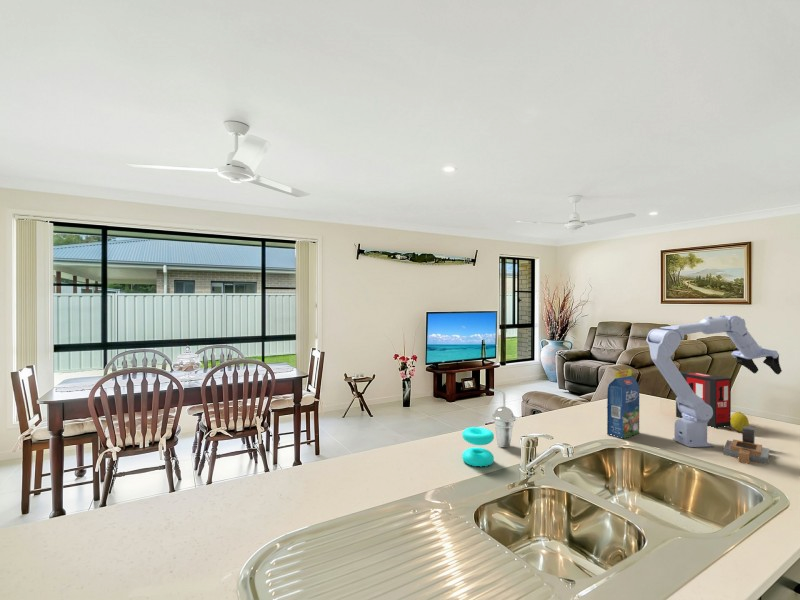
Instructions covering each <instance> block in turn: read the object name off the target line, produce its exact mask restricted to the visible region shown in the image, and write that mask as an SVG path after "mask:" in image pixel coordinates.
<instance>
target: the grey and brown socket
mask: <svg viewBox="0 0 800 600" xmlns="http://www.w3.org/2000/svg"><path fill="white" fill-rule="evenodd" d="M725 442H726V443H725V445H724V446H723V455H725V456H729V455H730V456H729V457H734V458H738V457H739V458H738V463H742V464H746V463H747V465H749V464H750V462H751V461H752V462H756V463H762V464H766V465H769V459H770V448H767V447H763V444H759V443H755V444H754V443H749V442H744V441H742V440H738V439H733V440H729V439H728V440H726V441H725Z"/></svg>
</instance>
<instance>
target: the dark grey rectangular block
mask: <svg viewBox="0 0 800 600" xmlns="http://www.w3.org/2000/svg"><path fill="white" fill-rule="evenodd" d="M755 431H756V427H753V426H743V431H742V440H741V441H744V442H749V443H754V444H756V441H755V437H756V435H755Z"/></svg>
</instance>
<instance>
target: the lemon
mask: <svg viewBox="0 0 800 600" xmlns="http://www.w3.org/2000/svg"><path fill="white" fill-rule="evenodd" d="M730 423H731V426H730V427H732V428H733V429H734V430H735V431H737V432H738V431H739V432H738V433H741V432H743V426H748V427H750V426H749V424H750V423H749V419H748V417H747V415H745V414H744V413H742V412H741V411H738V412H735V413H733V414H732V415H731V419H730Z"/></svg>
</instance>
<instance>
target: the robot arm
mask: <svg viewBox="0 0 800 600" xmlns="http://www.w3.org/2000/svg"><path fill="white" fill-rule="evenodd" d="M696 333H702V334H705V335H713V334H720V333H725V334H726V335H727V336H728V338H729V339H730V341H731V342H732V343H733V344H734V345H735V347H736V348H737V350H733V352H731V357H732V358H734V359H736V360H735V362H736V364H740V365H741V366H742V367H745V368H746V369H747V370H749V371H750V372H752V373H753V374H757V373H758V372H759V368H758V366H757V365H756V363H755V362H754V359H759V358H764V360H763V361H762V363H763V364H765V365H767V366H768V367H769V368H770V369H771V370H772V371H773V373H774V374H776V375H780V374H781V373H782V372H783V370H782V368H781V364H780V353H778V351H777V350H772V349H767V348H763V347H762V345H759V344H758V342H757V341H756V340H755V339H754V337H753V336H752V334H751V333H750V332H749V331H748V328H747V327H746V320H745V319H744V318H741V316H738V315H722V314H721V315H718V316H715V317H713V316H706V317H705V318H703V319H701V320H700V321H699V322H696V323H695V322H694V323H686V324H684V323H683V324H676V325H674V324H673V325H668V326H661V327H660V328H653V329H651V330H650V331H648V334H647V337H646V339H645V340H646V343H647V344H648V348H649V353H650V359H651V361H652V362H653V363H654V365H655V366H656V368H657V370H658V372H659V373H660V374H661V375H662V377H663V378H664V379H665V381H666V382H667V384H668V385H669V388H671V390H672V391H673V393H674V394H675V403H676V402H677V404H678V409H679V411H680V412H681V413H682V416H683V417H682V418H678V419H676V420H675V422H674V437H673V438H672V440H673V441H675V442H678V443H679V444H682V445H683V446H684V445H685V446H686V447H688V448H701V447H702V448H703V447H705V448H706V447H707V448H708V447H709V448H710V447H714V444H712V443H709V442H708V426H707V422H709V420H710V419H711V418H712V416H713V409H712V407H711V406H710V405H708V404H706V403H705V402H704V401H703V399H701V398H700V397H699V396H697V395H696V394H695V393H694V392H693V390H692V389H691V388H690V386H689V385H688V383H687V382H686V380H685V379H684V377H683V376H682V374H681V373H680V372H681V371H680V370H679V369H678V367H677V365H676V364H675V363H674V361H673V359H672V358H671V357H672V356H673V355H674V353H675V352H676V351H677V349H678V347H679V346H680V344H681V342H682V340H684V339H685V335H690V334H696ZM676 396H677V398H676Z"/></svg>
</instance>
